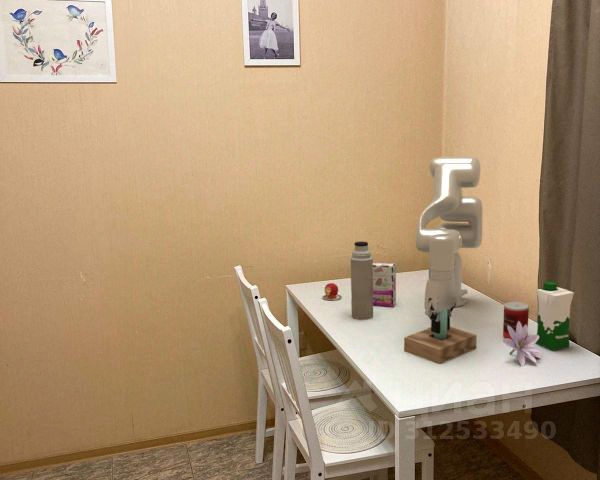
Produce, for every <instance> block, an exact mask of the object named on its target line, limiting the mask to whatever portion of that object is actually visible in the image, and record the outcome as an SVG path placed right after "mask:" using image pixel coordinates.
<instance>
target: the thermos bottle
mask: <svg viewBox="0 0 600 480" xmlns="http://www.w3.org/2000/svg"><path fill="white" fill-rule="evenodd" d="M373 258H374V257H373V256H372V253H371V250H370V249H369V242H368V241H355V242H354V250H352V254H351V257H350V288H351V289H350V290H351V298H350V299H351V300H350V301H351V318H352V319H355V320H358V321H359V320H362V321H363V320H365V321H366V320H370V319H373V317H374V306H373V262H374V260H373Z"/></svg>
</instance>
